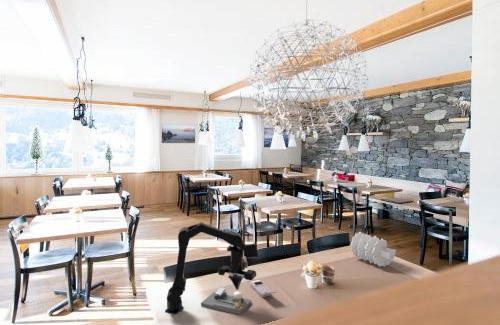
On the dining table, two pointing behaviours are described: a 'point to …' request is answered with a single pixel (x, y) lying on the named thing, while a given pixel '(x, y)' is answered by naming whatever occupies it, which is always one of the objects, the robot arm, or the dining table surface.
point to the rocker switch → (220, 291)
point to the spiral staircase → (372, 249)
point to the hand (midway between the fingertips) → (237, 289)
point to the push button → (237, 295)
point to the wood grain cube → (238, 304)
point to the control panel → (225, 303)
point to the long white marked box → (261, 288)
